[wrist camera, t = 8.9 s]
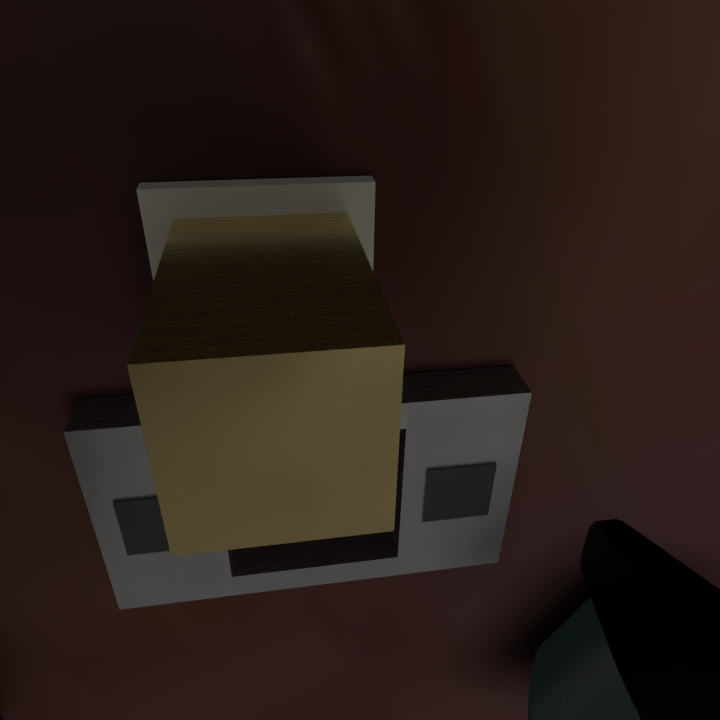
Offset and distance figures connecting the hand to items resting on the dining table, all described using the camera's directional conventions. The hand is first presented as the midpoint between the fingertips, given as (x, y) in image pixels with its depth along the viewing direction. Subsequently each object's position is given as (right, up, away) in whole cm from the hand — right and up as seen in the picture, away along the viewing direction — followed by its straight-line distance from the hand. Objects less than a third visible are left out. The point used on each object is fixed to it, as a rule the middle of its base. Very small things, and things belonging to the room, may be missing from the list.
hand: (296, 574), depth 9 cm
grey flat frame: (-1, -1, +13) cm, 13 cm away
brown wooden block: (-2, +5, +8) cm, 10 cm away
